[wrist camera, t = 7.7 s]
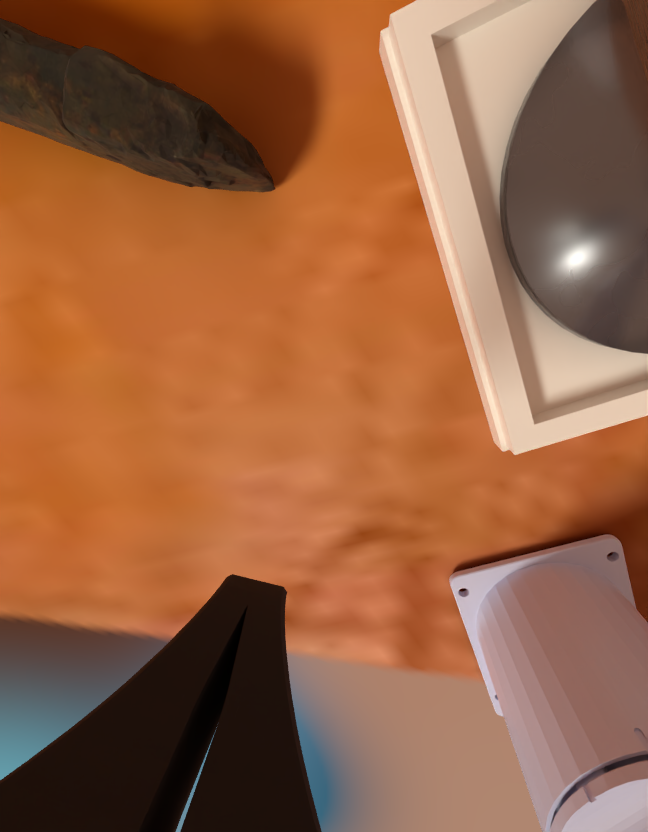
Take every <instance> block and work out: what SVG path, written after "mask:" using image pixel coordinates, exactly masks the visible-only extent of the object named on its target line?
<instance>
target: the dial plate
mask: <svg viewBox="0 0 648 832" xmlns="http://www.w3.org/2000/svg"><path fill="white" fill-rule="evenodd" d="M595 1H596V0H416V1H415V2H413V3H411V4H409V5H407V6H405V7H403V8H401V9H400V10H398V11H396V12H394V13H392V14H390V21H389V27H387V28H385V29H383V30H382V31H381V32H380V48H379V53H380V56H381V60H382V63H383V66H384V70H385V73H386V77H387V80H388V83H389V87H390V90H391V94H392V97H393V100H394V104H395V107H396V111H397V114H398V117H399V121H400V124H401V128H402V131H403V134H404V138H405V141H406V145H407V148H408V151H409V155H410V158H411V162H412V165H413V168H414V172H415V175H416V179H417V182H418V185H419V189H420V192H421V196H422V199H423V202H424V206H425V209H426V213H427V216H428V219H429V223H430V226H431V230H432V233H433V236H434V240H435V243H436V247H437V250H438V253H439V257H440V260H441V264H442V267H443V270H444V274H445V277H446V281H447V284H448V287H449V291H450V294H451V298H452V301H453V304H454V308H455V311H456V315H457V318H458V321H459V325H460V328H461V332H462V335H463V338H464V342H465V345H466V349H467V352H468V355H469V359H470V362H471V366H472V369H473V372H474V376H475V379H476V383H477V386H478V389H479V393H480V396H481V400H482V403H483V406H484V410H485V413H486V417H487V420H488V423H489V427H490V430H491V434H492V437H493V440H494V443H495V444H496V445H497V446H498V447H499V448H500V449H501V450H502V451H503V452H504V451H507V450H511V452H512V453H513V454H514V455H516V454H520V453H523V452H526V451H530V450H533V449H536V448H540V447H543V446H546V445H550V444H553V443H556V442H560V441H563V440H566V439H570V438H573V437H577V436H580V435H583V434H587V433H590V432H593V431H597V430H600V429H603V428H607V427H610V426H613V425H617V424H620V423H624V422H627V421H630V420H634V419H637V418H640V417H644V416H647V415H648V354H644V353H634V352H628V351H623V350H618V349H614V348H610V347H605V346H601V345H598V344H595V343H592V342H590V341H587V340H585V339H582V338H579V337H578V336H576V335H574V334H572V333H571V332H569V331H567V330H565V329H563V328H562V327H561V326H559V325H558V324H557V323H555V322H554V321H553V320H551V319H550V318H549V317H548V316H546V315H545V314H544V312H543V311H542V310H541V309H540V308H539V307H538V306H537V305H536V304H535V303H534V302H533V301H532V299H531V298H530V297H529V295H528V294H527V292H526V291H525V289H524V288H523V287H522V285H521V283H520V281H519V279H518V277H517V275H516V273H515V271H514V269H513V267H512V265H511V262H510V259H509V256H508V253H507V250H506V247H505V244H504V238H503V233H502V227H501V221H500V202H499V196H500V182H501V172H502V166H503V161H504V156H505V151H506V147H507V143H508V140H509V137H510V134H511V130H512V127H513V124H514V121H515V119H516V117H517V114H518V112H519V110H520V107H521V105H522V103H523V100H524V98H525V96H526V94H527V92H528V90H529V89H530V87H531V85H532V83H533V82H534V80H535V78H536V76H537V75H538V73H539V71H540V69H541V68H542V67H543V65H544V64H545V62H546V61H547V60H548V58H549V57H550V55H551V54H552V53H553V51H554V50H555V48H556V47H557V46H558V44H559V43H560V42H561V40H562V39H563V38H564V37H565V35H566V34H567V33H568V31H569V30H570V29H571V28H572V27H573V25H574V24H575V23H576V22H577V21H578V20H579V19H580V17H581V16H582V15H583V14H584V13H585V12H586V11H587V10H588V8H589V7H590V6H591V5H592V4H593V3H594V2H595Z"/></svg>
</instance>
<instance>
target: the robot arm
mask: <svg viewBox="0 0 648 832" xmlns="http://www.w3.org/2000/svg"><path fill="white" fill-rule="evenodd" d="M611 552H614V553H613V554H612V555H611V556H607V555H608V554H609V553H611ZM449 581H450V585H451V588H452V591H453V594H454V597H455V599H456V602H457V605H458V608H459V611H460V614H461V616H462V619H463V622H464V625H465V628H466V630H467V633H468V636H469V639H470V642H471V645H472V647H473V650H474V653H475V656H476V659H477V661H478V664H479V667H480V670H481V673H482V675H483V678H484V681H485V684H486V687H487V690H488V692H489V695H490V698H491V701H492V704H493V706H494V709H495V712H496V713H497V714H498V715H500V716H503V717H504V719H505V722H506V725H507V727H508V730H509V733H510V736H511V739H512V742H513V745H514V748H515V751H516V754H517V757H518V760H519V763H520V766H521V769H522V772H523V775H524V778H525V781H526V784H527V787H528V790H529V793H530V796H531V799H532V802H533V805H534V808H535V811H536V814H537V817H538V820H539V823H540V826H541V829H542V832H648V622H647V621H646V620H645V619H644V618H643V616H642V615H641V614H640V613H639V612H638V611H637V610H636V605H635V601H634V596H633V592H632V588H631V583H630V579H629V574H628V570H627V566H626V561H625V557H624V552H623V548H622V544H621V542H620V541H619V540H618V539H617V538H616V537H615V536H613V535H610V534H606V535H601V536H597V537H593V538H589V539H585V540H581V541H577V542H573V543H569V544H565V545H561V546H557V547H553V548H549V549H545V550H541V551H537V552H533V553H529V554H525V555H521V556H517V557H513V558H509V559H505V560H501V561H498V562H494V563H490V564H486V565H482V566H478V567H474V568H470V569H466V570H462V571H458V572H455V573H453V574H452V575H451V576H450V578H449ZM462 588H466V590H465V591H459V590H460V589H462ZM286 594H287V592H286V590H285V589H284V587H282V586H278V585H274V584H270V583H266V582H261V581H257V580H253V579H249V578H245V577H241V576H237V575H233V574H232V575H230V576H228V577H227V578H226V579H225V580H224V582H223V583H222V584H221V586H220V587H219V588H218V589H217V591H216V592H215V593H214V594H213V596H212V597H211V598H210V599H209V600H208V601H207V603H206V604H205V605H204V606H203V607H202V608H201V609H200V610H199V612H198V613H197V614H196V615H195V616H194V617H193V618H192V619H191V620H190V621H189V622H188V623H187V624H186V625H185V626H184V627H183V628H182V629H181V630H180V631H179V633H178V634H177V635H176V636H175V637H174V638H173V639H172V640H171V641H170V642H169V643H168V644H167V645H166V646H165V647H164V648H163V649H162V650H161V651H160V652H158V653H157V654H156V655H155V656H154V657H153V658H152V659H151V660H150V661H149V662H148V663H147V664H146V665H144V666H143V667H142V668H141V669H140V670H139V671H138V672H137V673H136V674H135V675H134V676H132V678H130V679H129V680H128V681H127V682H126V683H125V684H124V685H122V686H121V687H120V688H119V689H118V690H117V691H115V692H114V693H113V694H112V695H111V696H110V697H109V698H107V699H106V700H105V701H104V702H102V703H101V704H100V705H99V706H98V707H97V708H95V709H94V710H93V711H91V712H90V713H89V714H88V715H87V716H85V717H84V718H83V719H82V720H80V721H79V722H78V723H77V724H75V725H74V726H73V727H72V728H70V729H69V730H68V731H66V732H65V733H64V734H62V735H61V736H60V737H58V738H57V739H56V740H54V741H53V742H52V743H50V744H49V745H48V746H47V747H45V748H44V749H43V750H41V751H40V752H39V753H37V754H36V755H35V756H33V757H32V758H31V759H29V760H28V761H27V762H25V763H24V764H22V765H21V766H20V767H18V768H17V769H16V770H14V771H13V772H11V773H10V774H9V775H7V776H6V777H4V778H3V779H2V780H0V832H175V831H176V829H177V826H178V823H179V821H180V818H181V815H182V813H183V810H184V808H185V805H186V803H187V800H188V798H189V795H190V793H191V790H192V788H193V785H194V783H195V780H196V778H197V775H198V773H199V770H200V767H201V765H202V763H203V760H204V758H205V755H206V753H207V750H208V748H209V745H210V743H211V740H212V738H213V740H212V743H211V746H210V749H209V752H208V754H207V757H206V760H205V763H204V766H203V769H202V772H201V775H200V778H199V781H198V783H197V786H196V789H195V792H194V795H193V798H192V800H191V803H190V806H189V809H188V812H187V814H186V818H185V820H184V823H183V826H182V829H181V832H321V828H320V824H319V821H318V817H317V813H316V809H315V805H314V801H313V797H312V793H311V789H310V785H309V781H308V777H307V772H306V768H305V764H304V760H303V755H302V750H301V746H300V740H299V735H298V730H297V725H296V719H295V713H294V707H293V701H292V695H291V688H290V681H289V671H288V662H287V653H286V640H285V602H286ZM218 722H219V723H218ZM216 727H217V728H216ZM215 730H216V731H215ZM214 732H215V734H214ZM213 735H214V737H213Z"/></svg>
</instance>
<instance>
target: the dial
mask: <svg viewBox="0 0 648 832" xmlns="http://www.w3.org/2000/svg"><path fill="white" fill-rule="evenodd" d="M499 202H500V221H501V227H502V233H503V238H504V244H505V247H506V250H507V253H508V256H509V259H510V262H511V265H512V267H513V269H514V271H515V273H516V275H517V277H518V279H519V281H520V283H521V285H522V287H523V288H524V289H525V291H526V292H527V294H528V295H529V297H530V298H531V299H532V301H533V302H534V303H535V304H536V305H537V306H538V307H539V308H540V309H541V310H542V311H543V312H544V314H545V315H546V316H548V317H549V318H550V319H551V320H553V321H554V322H555V323H557V324H558V325H559V326H561V327H562V328H563V329H565V330H567V331H569V332H571V333H572V334H574V335H576V336H578V337H579V338H582V339H585V340H587V341H590V342H592V343H595V344H598V345H601V346H605V347H610V348H614V349H618V350H623V351H628V352H634V353H644V354H648V0H596V1H595V2H594V3H593V4H592V5H591V6H590V7H589V8H588V10H587V11H586V12H585V13H584V14H583V15H582V16H581V17H580V19H579V20H578V21H577V22H576V23H575V24H574V25H573V27H572V28H571V29H570V30H569V31H568V33H567V34H566V35H565V37H564V38H563V39H562V40H561V42H560V43H559V44H558V46H557V47H556V48H555V50H554V51H553V53H552V54H551V55H550V57H549V58H548V60H547V61H546V62H545V64H544V65H543V67H542V68H541V69H540V71H539V73H538V75H537V76H536V78H535V80H534V82H533V83H532V85H531V87H530V89H529V90H528V92H527V94H526V96H525V98H524V100H523V103H522V105H521V107H520V110H519V112H518V114H517V117H516V119H515V121H514V124H513V127H512V130H511V134H510V137H509V140H508V143H507V147H506V151H505V156H504V161H503V166H502V172H501V182H500V196H499Z"/></svg>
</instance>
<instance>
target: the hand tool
mask: <svg viewBox="0 0 648 832" xmlns="http://www.w3.org/2000/svg"><path fill="white" fill-rule="evenodd" d="M0 121H2V122H5V123H7V124H10V125H13V126H16V127H19V128H22V129H25V130H28V131H31V132H33V133H36V134H39V135H42V136H45V137H48V138H50V139H52V140H54V141H57V142H60V143H62V144H65V145H68V146H71V147H74V148H76V149H79V150H82V151H85V152H88V153H90V154H93V155H96V156H99V157H102V158H105V159H108V160H111V161H114V162H117V163H120V164H123V165H125V166H127V167H129V168H131V169H133V170H136V171H138V172H141V173H143V174H146V175H149V176H153V177H157V178H160V179H163V180H167V181H170V182H174V183H178V184H182V185H185V186H189V187H193V186H198V187H205V188H208V189H223V190H231V191H253V192H268V191H272V190H274V189H275V187H274V183H273V180H272V177H271V176H270V174H269V172H268V171H267V170H266V168H265V167H264V164H263V161H262V159H261V157H260V156H259V154H258V152H257V151H256V149H255V148H254V147H253V145H252V144H251V143H250V142H249V141H248V140H247V139H245V138H244V137H243V136H242V135H241V134H240V133H239V132H238V131H236V130H235V129H234V128H233V127H232V126H231V125H230V124H228V123H227V122H226V121H225V120H224V119H223V118H222V117H221V116H220V115H219V114H218V113H217V112H216V111H215V110H214V109H213V108H212V107H211V106H210V105H209V104H207V103H205V102H203V101H202V100H200V99H198V98H196V97H194V96H192V95H190V94H188V93H186V92H185V91H183V90H182V89H180V88H179V87H177V86H176V85H174V84H172V83H168V82H165V81H161V80H158V79H156V78H153V77H151V76H149V75H147V74H145V73H143V72H141V71H140V70H138V69H137V68H135V67H134V66H132V65H130V64H128V63H126V62H125V61H123V60H121V59H120V58H118V57H117V56H115V55H113V54H111V53H108V52H106V51H103V50H100V49H97V48H93V47H89V46H84V47H82V48H81V49H78V48H75V47H73V46H69V45H66V44H63V43H60V42H58V41H55V40H53V39H50V38H47V37H42V36H40V35H38V34H35V33H33V32H31V31H29V30H27V29H26V28H24V27H22V26H20V25H18V24H15V23H12V22H9V21H6V20H3V19H1V18H0Z"/></svg>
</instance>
